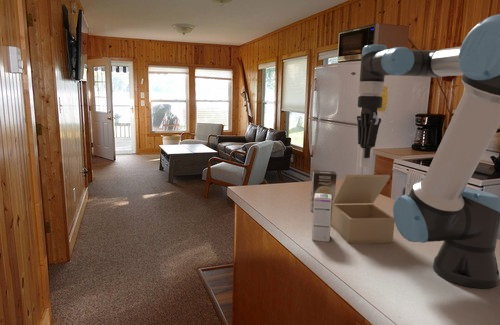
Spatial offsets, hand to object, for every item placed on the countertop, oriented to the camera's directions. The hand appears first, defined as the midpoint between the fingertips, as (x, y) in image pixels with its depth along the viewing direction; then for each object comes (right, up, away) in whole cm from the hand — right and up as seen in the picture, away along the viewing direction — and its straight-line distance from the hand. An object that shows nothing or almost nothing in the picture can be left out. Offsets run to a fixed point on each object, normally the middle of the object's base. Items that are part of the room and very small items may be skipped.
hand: (364, 167), depth 121 cm
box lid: (0, -8, +3) cm, 9 cm away
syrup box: (-15, -24, -2) cm, 28 cm away
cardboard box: (0, -23, +3) cm, 23 cm away
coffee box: (-9, -18, +28) cm, 34 cm away
